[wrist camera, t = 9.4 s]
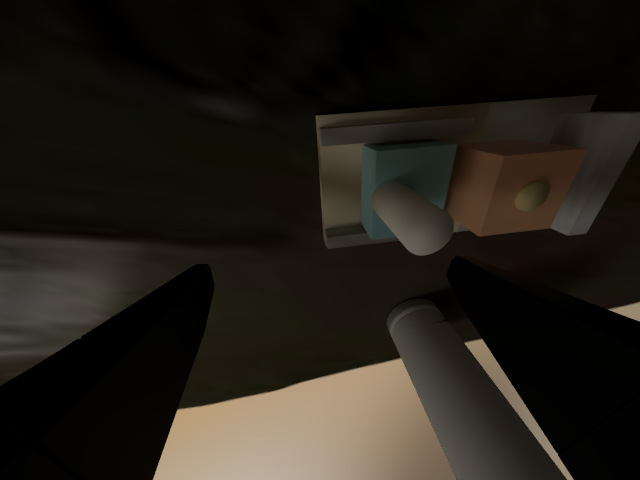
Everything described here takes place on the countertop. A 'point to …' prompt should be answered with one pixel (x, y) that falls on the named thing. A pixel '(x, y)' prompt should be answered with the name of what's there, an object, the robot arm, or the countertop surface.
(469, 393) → the travel mug
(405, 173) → the ram
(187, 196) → the countertop surface
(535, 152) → the box
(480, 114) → the frame
